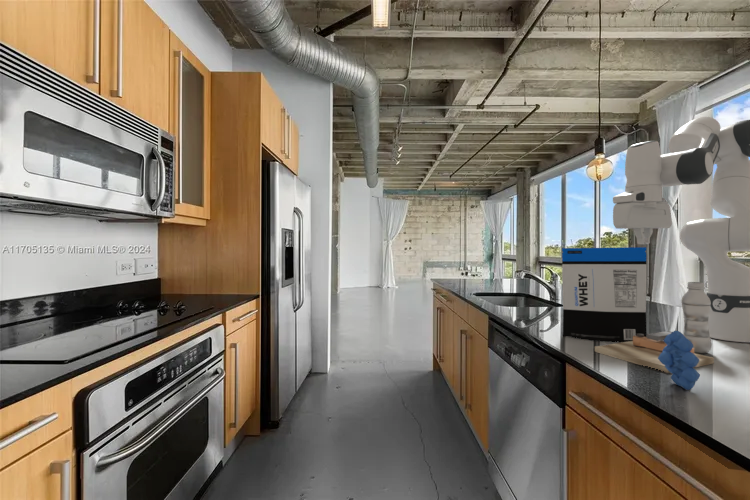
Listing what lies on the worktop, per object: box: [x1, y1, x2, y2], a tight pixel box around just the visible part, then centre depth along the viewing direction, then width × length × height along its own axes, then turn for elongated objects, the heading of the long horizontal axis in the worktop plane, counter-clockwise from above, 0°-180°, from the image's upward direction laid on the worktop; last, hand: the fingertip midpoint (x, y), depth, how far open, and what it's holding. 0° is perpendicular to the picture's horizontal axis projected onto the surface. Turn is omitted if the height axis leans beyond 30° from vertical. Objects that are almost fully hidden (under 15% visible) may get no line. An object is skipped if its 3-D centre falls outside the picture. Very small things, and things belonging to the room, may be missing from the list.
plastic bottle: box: [680, 281, 713, 354], centre depth 110 cm, size 6×7×20 cm
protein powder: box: [561, 246, 648, 343], centre depth 127 cm, size 10×24×30 cm, turn 71°
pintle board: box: [594, 330, 715, 374], centre depth 106 cm, size 18×20×6 cm
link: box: [633, 336, 694, 354], centre depth 107 cm, size 15×4×2 cm, turn 22°
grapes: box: [658, 330, 701, 391], centre depth 86 cm, size 12×7×12 cm, turn 166°
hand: (643, 244), depth 113 cm, fingers closed
